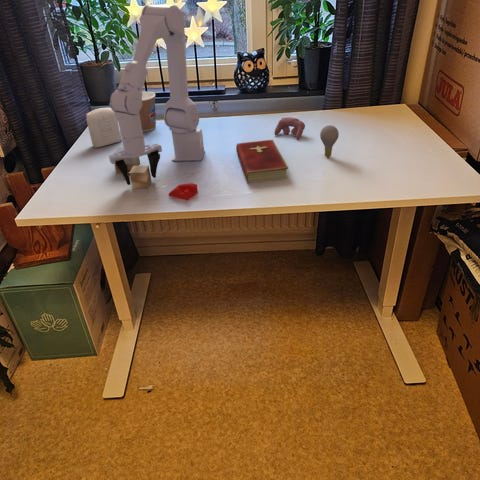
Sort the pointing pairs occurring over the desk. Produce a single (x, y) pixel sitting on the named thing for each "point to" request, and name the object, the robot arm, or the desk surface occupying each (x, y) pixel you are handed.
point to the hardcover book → (261, 161)
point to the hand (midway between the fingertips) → (141, 180)
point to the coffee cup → (148, 111)
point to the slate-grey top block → (128, 161)
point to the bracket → (184, 191)
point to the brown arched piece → (292, 122)
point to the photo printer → (103, 127)
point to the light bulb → (329, 138)
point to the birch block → (140, 176)
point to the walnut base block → (129, 166)
